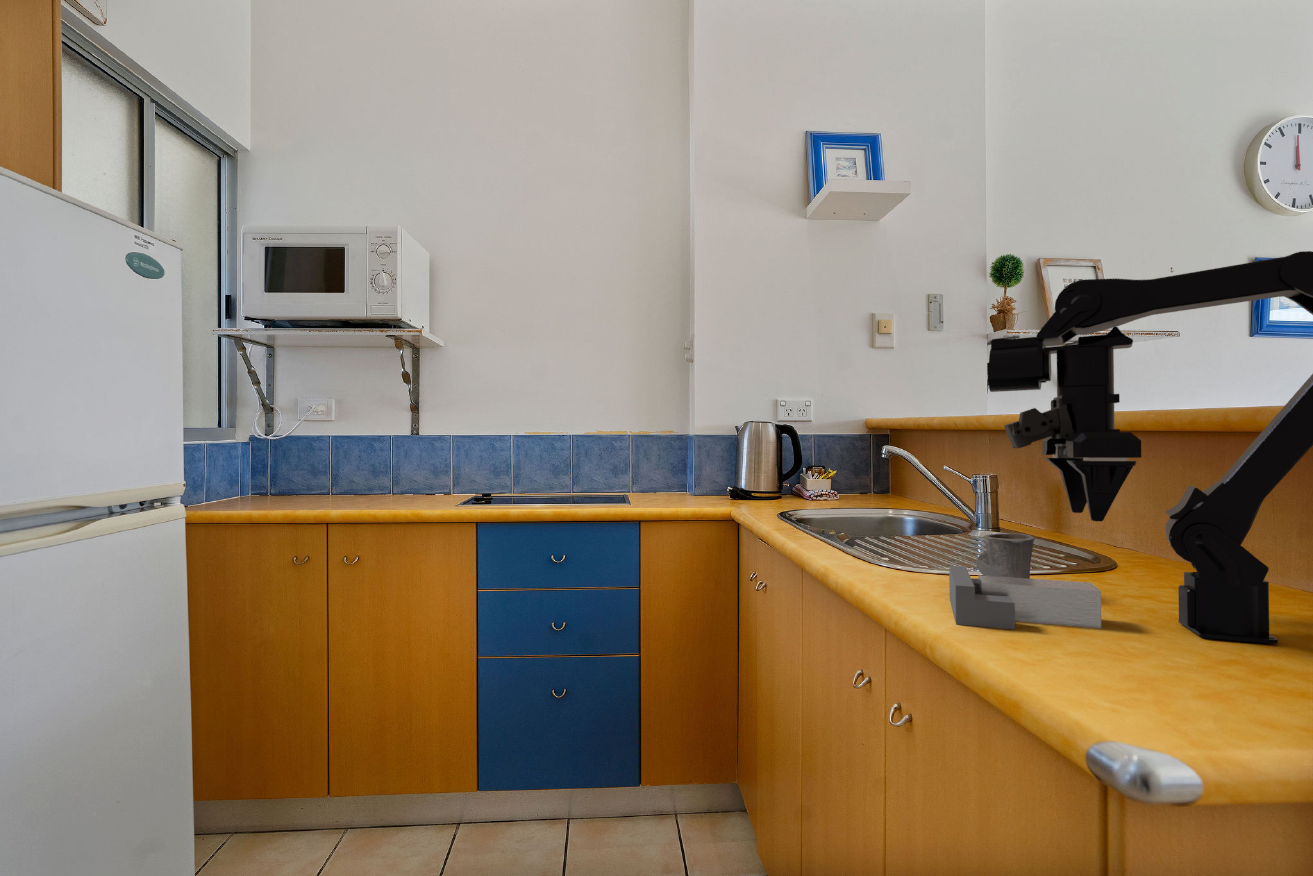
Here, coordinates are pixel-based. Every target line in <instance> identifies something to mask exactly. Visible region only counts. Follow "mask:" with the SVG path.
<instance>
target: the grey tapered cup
mask: <svg viewBox="0 0 1313 876" xmlns="http://www.w3.org/2000/svg"><path fill="white" fill-rule="evenodd" d="M983 539H984V543H985V544H984V545H985V547H986V551H983V552H982V553H981V554H979V555H978V557H977V558H976V568H977V571H978V572H979V573H981V574H982V575H983V576H998V577H1013V578H1028V579H1031V578H1030V577H1031V565H1032V564H1031V563H1032V556H1033V548H1034V542H1035V537H1034V536H1032V535H1029V534H1026V533H1001V532H1000V533H999V532H998V533H991V534H985V535H984V536H983Z"/></svg>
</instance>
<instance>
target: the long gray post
mask: <svg viewBox="0 0 1313 876" xmlns="http://www.w3.org/2000/svg"><path fill="white" fill-rule="evenodd" d="M977 579H978V594H979V595H992V596H1006V597H1011V598H1012V600H1013V601H1014V603H1015V622H1020V623H1030V624H1031V623H1032V624H1041V625H1042V624H1043V625H1054V626H1055V625H1056V626H1063V627H1064V626H1067V627H1077V628H1088V629H1089V628H1090V629H1099V630H1100V629H1102V592H1101V591H1102V590H1100V589H1099V587H1096V585H1094V584H1093V583H1092V582H1090V581H1089V582H1085V581H1073V580H1072V581H1069V580H1058V579H1057V580H1055V579H1042V578H1041V579H1040V578H1030V579H1028V578H1013V577H998V576H984V575H983V574H982V575H980V574H979V575H977Z"/></svg>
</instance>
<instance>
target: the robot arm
mask: <svg viewBox="0 0 1313 876" xmlns="http://www.w3.org/2000/svg"><path fill="white" fill-rule="evenodd" d="M1280 297H1281V298H1282V297H1284V298H1287V299H1289V300H1290V301H1292V302H1294V303H1295V304H1297V305H1298V306H1300V307H1301V308H1302V309H1304V310H1305V311H1306V312H1307V313H1309V314H1311V315H1312V316H1313V251H1311V250H1310V251H1309V250H1308V251H1305V250H1304V251H1303V250H1302V251H1297V252H1294V253H1291V254H1289V255H1285V256H1280V257H1275V258H1269V259H1264V260H1258V261H1253V262H1246V263H1240V264H1234V265H1229V266H1228V265H1227V266H1223V267H1218V268H1217V267H1216V268H1211V269H1205V270H1204V269H1203V270H1200V271H1194V272H1187V273H1183V274H1182V273H1181V274H1180V273H1179V274H1175V275H1170V276H1164V277H1157V278H1151V279H1128V278H1097V279H1096V278H1092V279H1091V278H1089V279H1079V280H1076V281H1073V282H1070V283H1069V284H1067V285H1066V286H1065V287H1064V288H1063V289H1062V290H1061V291H1060V292H1059V293H1058V295H1057V298H1056V299H1055V303H1054V313H1053V314H1052V315H1051V316H1050V317H1049V319H1048V320H1047V321H1046V322H1045V323H1044V325H1043V326H1042V327H1041V329H1040V330H1039V331H1038V332H1037V334H1036V336H1031V337H1029V336H1028V337H1019V338H1004V337H1003V338H1001V337H1000V338H992V339H991V340H990V350H989V357H988V362H987V363H986V374H987V384H988V389H989V391H990V393H991V392H992V393H997V392H1019V391H1037V390H1038V391H1039V390H1041V387H1042V383H1044V384H1045V383H1047V382H1051V380H1052V354H1053V355H1054V354H1055V355H1056V396H1055V397H1053V399H1052V400H1050V409H1049V410H1046V411H1043V412H1041V411H1039V410H1038V409H1037V408H1036V407H1032V408H1030V409H1027V410H1024V411H1021V412H1020V413H1019V418H1018V420H1017V421H1013V422H1010V423H1007V424H1005V425H1003V427H1004V430H1005V431H1006V435H1007V437H1008V439H1009V441H1010V443H1011V446H1012V448H1013V449H1021V448H1025V447H1027V446H1030V445H1031V444H1032V443H1035V442H1038V441H1041V455H1043V456H1052V457H1045V458H1044V459H1045V461H1047V462H1048V463H1050V464H1051V465H1052V466H1053V467H1055V469H1057V470H1058V471H1059V473H1060V477H1061V479H1062V482H1063V485H1064V489H1065V492H1066V496H1067V500H1068V503H1069V507H1070V509H1071V513H1073V514H1082V513H1083V512H1084V510H1085V507H1086V506H1087V508H1088V509H1087V510H1088V513H1089V517H1090V520H1091V521H1092V522H1103V521H1104V520H1105V518H1106V516H1107V514H1108V513H1109V510H1110V509H1111V507H1112V505H1113V504H1114V501H1115V500H1116V497H1117V496H1118V494H1119V492H1120V490H1121V488H1122V486H1123V484H1124V483H1125V481H1126V479H1127V477H1128V476H1129V475H1130V472H1131V470H1132V469H1133V467H1134V466H1136V465H1137V460H1128V459H1129V458H1130V459H1131V458H1132V459H1133V458H1134V459H1135V458H1137V459H1139V458H1142V440H1141V439H1140V438H1139V437H1137V436H1136V435H1135V434H1134V433H1133V432H1131V431H1121V429H1120V428H1115V404H1118V403H1120V401H1121V400H1120V393H1115V365H1114V364H1115V362H1114V361H1115V360H1114V358H1115V356H1114V350H1117V349H1119V350H1120V349H1121V350H1122V349H1130V348H1131V347H1133V344H1134V343H1133V342H1134V339H1133V338H1132V337H1129V336H1127V335H1126V334H1125V333H1123V332H1122V331H1121V330H1120V329H1119V327H1120V326H1122V325H1126V324H1128V323H1131V322H1134V321H1137V320H1139V319H1143V318H1147V317H1150V316H1155V315H1163V314H1168V313H1176V312H1183V311H1189V310H1196V309H1197V310H1198V309H1205V308H1210V307H1216V306H1217V307H1218V306H1223V305H1232V304H1238V303H1244V302H1250V301H1251V302H1252V301H1253V302H1254V301H1258V300H1259V301H1260V300H1266V299H1273V298H1280ZM1109 329H1111V330H1110V331H1108V333H1106V334H1099V335H1093V334H1095V333H1098V332H1102V331H1105V330H1109ZM1091 334H1092V335H1091ZM1076 336H1078V338H1077V343H1076V344H1075V343H1074V344H1068V345H1064V344H1066V343H1067V342H1069V341H1071V340H1072V339H1073V338H1075V337H1076ZM1312 447H1313V373H1312V374H1311V375H1310V376H1309V377H1308V378H1307V379H1306V381H1305V382H1304V383H1303V384H1302V386H1300V388H1299V389H1298V390H1297V391H1296V392H1295V393H1294V394H1293V396H1292V397H1291V398H1290V399H1289V400H1288V401H1287V403H1285V404H1284V406H1283V407H1282V408H1281V409H1280V411H1278V413H1277V414H1276V415H1275V416H1274V417H1273V419H1272V420H1271V421H1270V422H1269V423H1268V424H1267V425H1266V426H1265V428H1264V429H1263V430H1262V431H1261V432H1260V433H1259V435H1258V436H1257V437H1256V438H1255V439H1254V441H1253V442H1251V444H1250V445H1249V446H1248V447H1247V448H1246V450H1245V451H1244V452H1243V453H1242V454H1241V455H1240V456H1239V458H1238V459H1237V460H1236V461H1235V462H1234V463H1233V465H1232V466H1231V467H1230V468H1229V469H1228V470H1227V472H1226V473H1224V475H1223V476H1222V477H1221V478H1220V479H1218V480H1217V481H1215V482H1214V483H1213V484H1212V485H1210V486H1209V487H1207V488H1206V489H1204V490H1203V491H1202V490H1201V489H1199V488H1198V487H1196V486H1194V485H1192V484H1189V485H1188V486H1187V488H1186V489H1185V492H1183V495H1182V496H1181V498H1180V500H1179V501H1178V502H1177V503H1176V504H1175V505H1174V506H1173V507H1171V508H1169V509H1167V510H1166V511H1165V514H1166V515H1167V516H1168V517H1169V518H1168V520H1167V521H1166V524H1165V528H1164V531H1165V536H1166V539H1167V541H1168V543H1169V545H1170V547H1171V548H1172V549H1173V552H1175V553H1176V554H1177V556H1179V557H1180V558H1182V559H1183V560H1184V561H1186V562H1189V563H1190V564H1191V566H1192V568H1193V569H1194V570H1196V571H1184V572H1183V584H1180V585H1178V588H1177V590H1178V591H1177V592H1178V619H1177V620H1178V623H1179V624H1181V626H1184V627H1185V628H1187V629H1188V630H1189V631H1191V633H1194V634H1195V635H1196V636H1198V637H1201V638H1204V639H1205V638H1207V639H1215V640H1216V639H1217V640H1227V641H1239V642H1248V643H1249V642H1252V643H1263V644H1275V645H1278V644H1279V639H1278V638H1277V637H1275V636H1273V635H1271V634H1270V593H1269V592H1270V588H1269V587H1270V582H1269V581H1268V580H1265V579H1266V576H1267V574H1268V573H1269V571H1270V570H1269V567H1268V566H1267V565H1266V564H1265V563H1264V562H1263V561H1261V560H1260V559H1259V558H1258V557H1256V556H1255V555H1254V554H1252V553H1251V552H1250V551H1249V550H1248V549H1246V548H1245V547H1243V546H1242V544H1243V542H1244V540H1245V539H1246V537H1247V536H1248V534H1249V532H1250V530H1251V529H1252V526H1253V524H1254V521H1255V519H1256V518H1257V515H1258V512H1259V510H1260V508H1261V505H1262V504H1263V502H1264V501H1265V499H1266V497H1267V496H1268V495H1269V494H1270V493H1271V492H1272V491H1273V490H1274V489H1275V488H1276V486H1277V485H1278V484H1280V482H1281V481H1282V480H1283V479H1284V478H1285V477H1286V475H1287V474H1288V473H1289V472H1290V471H1291V470H1292V469H1293V468H1294V467H1295V465H1296V464H1297V463H1298V462H1299V461H1300V460H1301V459H1303V457H1304V456H1305V454H1307V453H1308V451H1309V450H1310V449H1311V448H1312Z"/></svg>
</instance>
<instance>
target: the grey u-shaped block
mask: <svg viewBox="0 0 1313 876" xmlns="http://www.w3.org/2000/svg"><path fill="white" fill-rule="evenodd" d="M948 568H949V571H948V572H949V575H948V576H949V602H950V607H951V611H952V615H953V619H954V622H955V625H959V626H970V627H983V628H991V629H1003V630H1015V629H1016V621H1015V603H1014V601H1013V600H1012V598H1011V597H1006V596H992V595H979V594H978V578H972V577H971V575H970V573H969V570H968V568H967V566H959V565H958V566H957V565H949V567H948Z"/></svg>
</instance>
